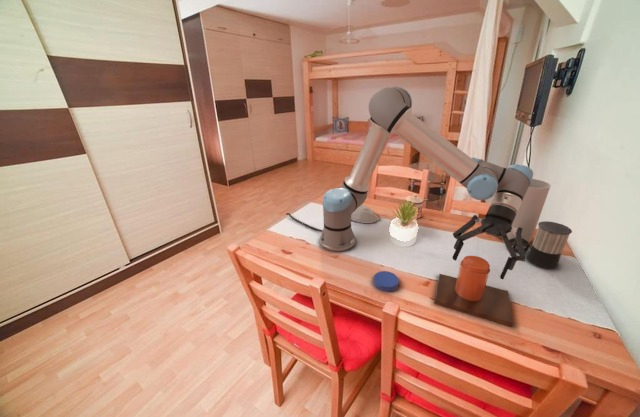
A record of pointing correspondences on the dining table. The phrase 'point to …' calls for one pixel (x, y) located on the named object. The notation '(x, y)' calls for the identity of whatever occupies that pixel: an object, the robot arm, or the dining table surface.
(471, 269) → the jar
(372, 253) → the dining table surface
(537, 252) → the milk frother
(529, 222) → the cylinder vase
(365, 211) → the grey speckled mound
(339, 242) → the robot arm
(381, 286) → the jar lid
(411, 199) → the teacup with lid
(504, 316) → the board
